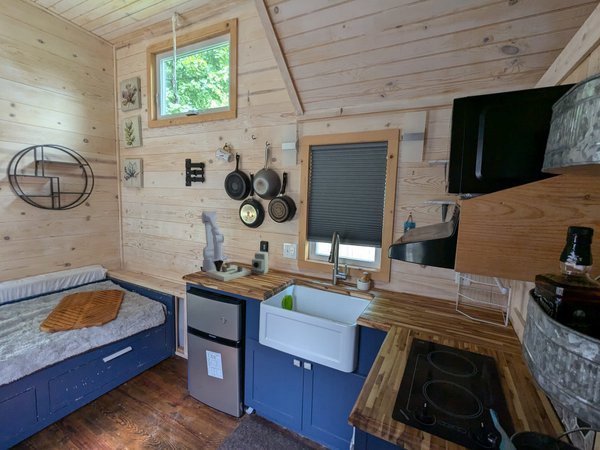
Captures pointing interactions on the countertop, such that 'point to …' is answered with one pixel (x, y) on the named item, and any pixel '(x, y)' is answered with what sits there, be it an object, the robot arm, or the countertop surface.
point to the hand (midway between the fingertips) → (218, 271)
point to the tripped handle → (224, 268)
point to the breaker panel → (229, 272)
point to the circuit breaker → (260, 262)
